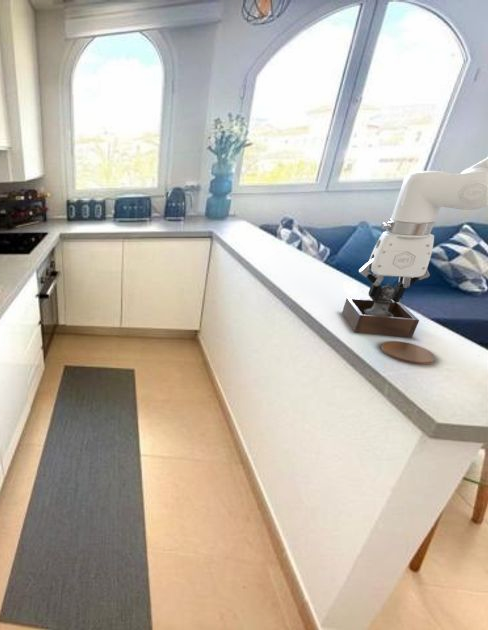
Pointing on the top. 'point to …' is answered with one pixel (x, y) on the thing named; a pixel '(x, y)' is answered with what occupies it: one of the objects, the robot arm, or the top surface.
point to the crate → (379, 319)
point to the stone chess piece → (382, 303)
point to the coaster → (408, 352)
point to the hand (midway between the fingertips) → (383, 298)
